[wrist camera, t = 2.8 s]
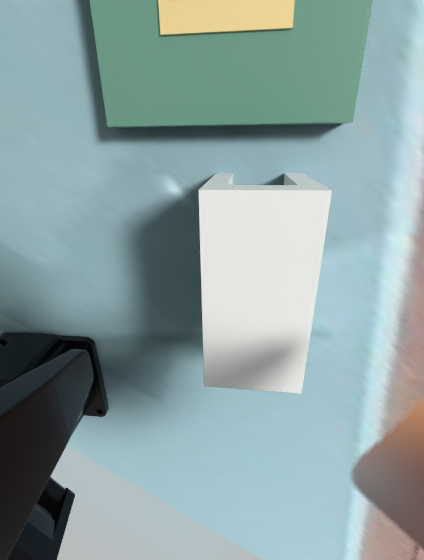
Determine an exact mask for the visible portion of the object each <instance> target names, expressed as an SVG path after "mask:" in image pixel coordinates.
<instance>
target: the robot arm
mask: <svg viewBox="0 0 424 560" xmlns="http://www.w3.org/2000/svg"><path fill="white" fill-rule="evenodd" d="M84 344H85V345H87V346H88V347H86V346H85V345H84ZM108 409H109V407H108V402H107V398H106V393H105V388H104V383H103V379H102V374H101V369H100V365H99V360H98V355H97V350H96V346H95V343H94V341H93V340H92V339H90V338H87V337H72V336H56V335H43V334H25V333H3V334H1V335H0V560H57V556H58V553H59V549H60V546H61V542H62V539H63V535H64V532H65V528H66V525H67V521H68V518H69V514H70V511H71V507H72V504H73V500H74V497H75V494H74V493H73V492H72V491H71V490H69V489H68V488H66V489H64V488H63V487H62V486H61V485H60V484H58V483H57V482H56V481H54V480H53V479H52V478H51V477H50V476H51V474H52V472H53V470H54V468H55V466H56V464H57V462H58V461H59V459H60V457H61V455H62V453H63V451H64V449H65V447H66V445H67V443H68V441H69V439H70V437H71V435H72V434H73V432H74V430H75V429H76V427H77V425H78V424H79V422H80V420H81V419H82V417H83V415H87V416H99V417H103V416H105V415H106V413H107V411H108Z"/></svg>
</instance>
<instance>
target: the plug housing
mask: <svg viewBox="0 0 424 560" xmlns="http://www.w3.org/2000/svg"><path fill="white" fill-rule="evenodd" d="M232 184H233V173H216V174H215V175H214V176H213V177H212V178H211V179H209V180H208V181H207V182H206V183H205V184H204V185H203V186H202V187H201V188H200V189H199V222H200V256H201V290H202V325H203V359H204V386H208V387H222V388H235V389H249V390H263V391H277V392H290V393H302V387H303V380H304V374H305V367H306V360H307V354H308V347H309V340H310V334H311V327H312V320H313V314H314V307H315V300H316V294H317V287H318V280H319V274H320V267H321V261H322V254H323V247H324V241H325V234H326V227H327V221H328V214H329V207H330V201H331V194H332V190H330V189H328V188H327V187H325V186H323V185H322V184H320V183H318V182H316V181H315V180H313V179H311V178H310V177H308V176H306V175H304V174H303V173H284V185H232Z"/></svg>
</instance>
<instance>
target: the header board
mask: <svg viewBox="0 0 424 560" xmlns="http://www.w3.org/2000/svg"><path fill="white" fill-rule="evenodd" d="M371 6H372V0H90V7H91V14H92V21H93V28H94V35H95V43H96V50H97V57H98V64H99V71H100V78H101V85H102V93H103V100H104V107H105V114H106V121H107V127H115V128H137V127H191V126H245V125H300V124H345V123H350V122H353V116H354V110H355V104H356V98H357V92H358V86H359V79H360V73H361V67H362V61H363V55H364V49H365V43H366V36H367V30H368V24H369V18H370V12H371Z"/></svg>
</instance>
